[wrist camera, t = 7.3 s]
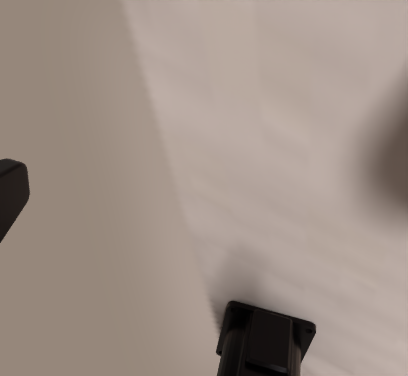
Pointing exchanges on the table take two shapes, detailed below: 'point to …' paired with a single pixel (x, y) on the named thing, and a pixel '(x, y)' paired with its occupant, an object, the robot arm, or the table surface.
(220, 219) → the table surface
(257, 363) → the robot arm
